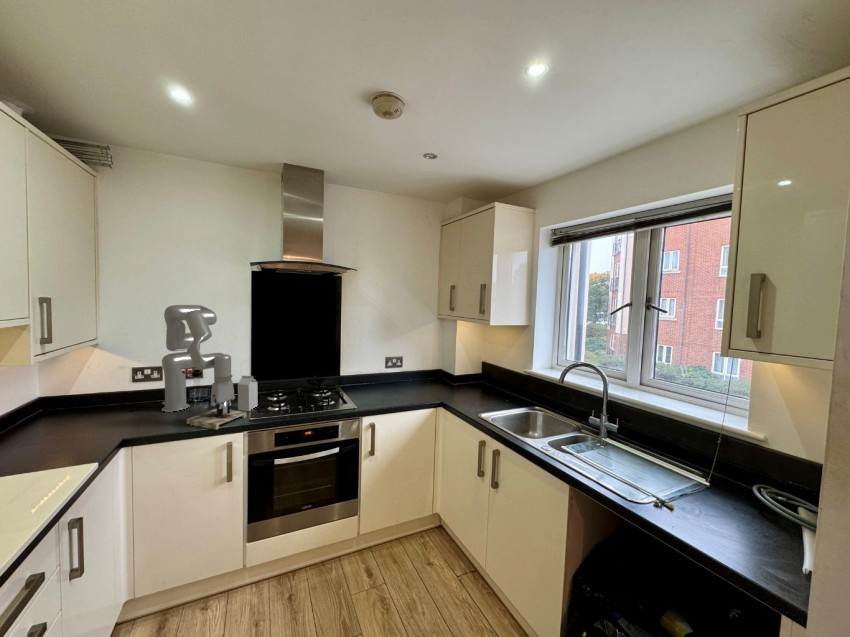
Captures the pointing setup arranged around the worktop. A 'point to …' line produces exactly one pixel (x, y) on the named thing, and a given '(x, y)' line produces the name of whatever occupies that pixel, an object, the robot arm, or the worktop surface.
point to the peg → (224, 411)
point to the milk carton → (247, 393)
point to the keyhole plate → (214, 419)
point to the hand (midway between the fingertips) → (223, 414)
